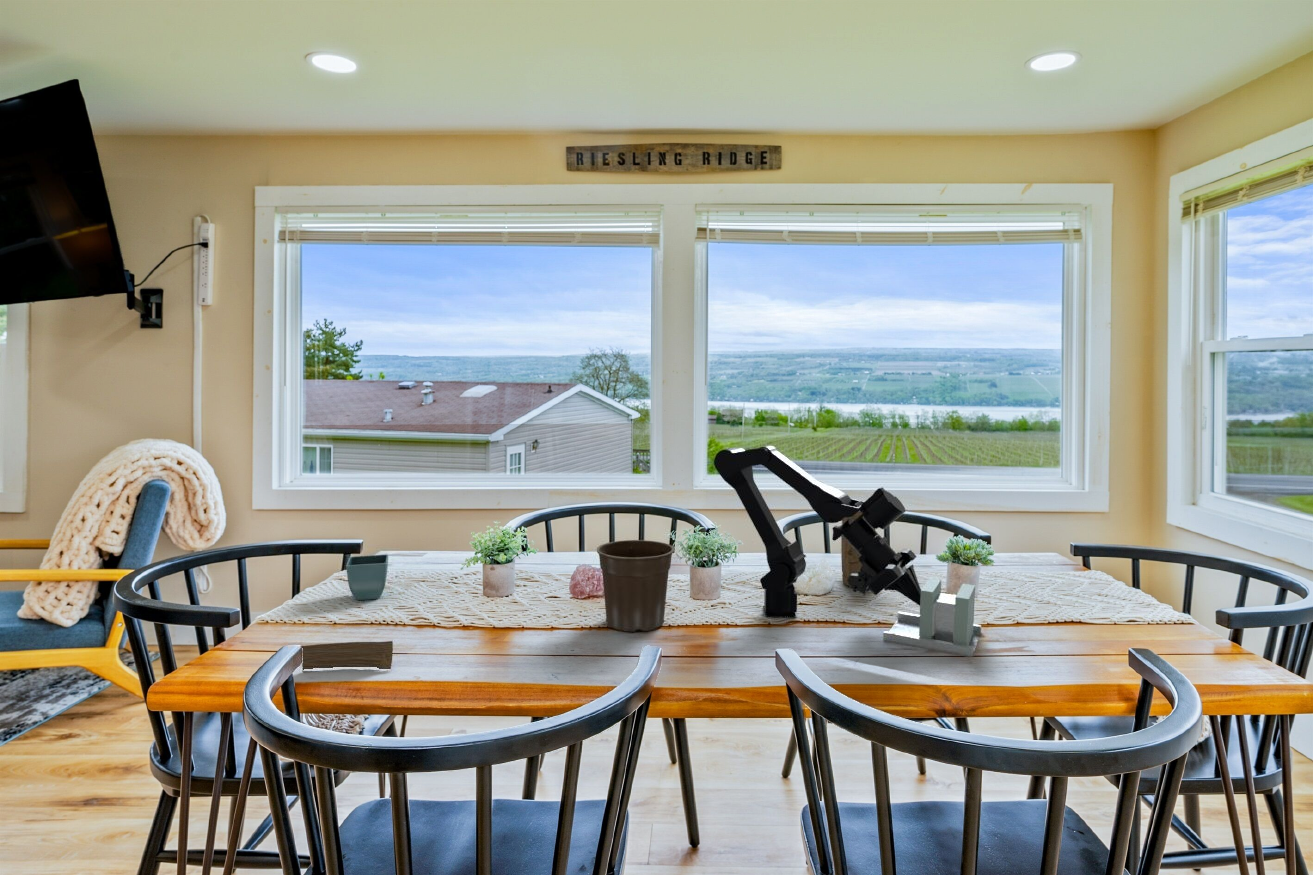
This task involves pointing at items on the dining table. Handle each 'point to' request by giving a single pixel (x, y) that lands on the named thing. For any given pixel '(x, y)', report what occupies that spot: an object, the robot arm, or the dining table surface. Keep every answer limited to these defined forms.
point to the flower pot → (367, 576)
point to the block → (849, 555)
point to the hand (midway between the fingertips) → (923, 604)
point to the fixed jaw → (964, 615)
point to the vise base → (908, 634)
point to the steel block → (944, 617)
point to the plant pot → (635, 583)
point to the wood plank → (348, 655)
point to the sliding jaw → (929, 607)
